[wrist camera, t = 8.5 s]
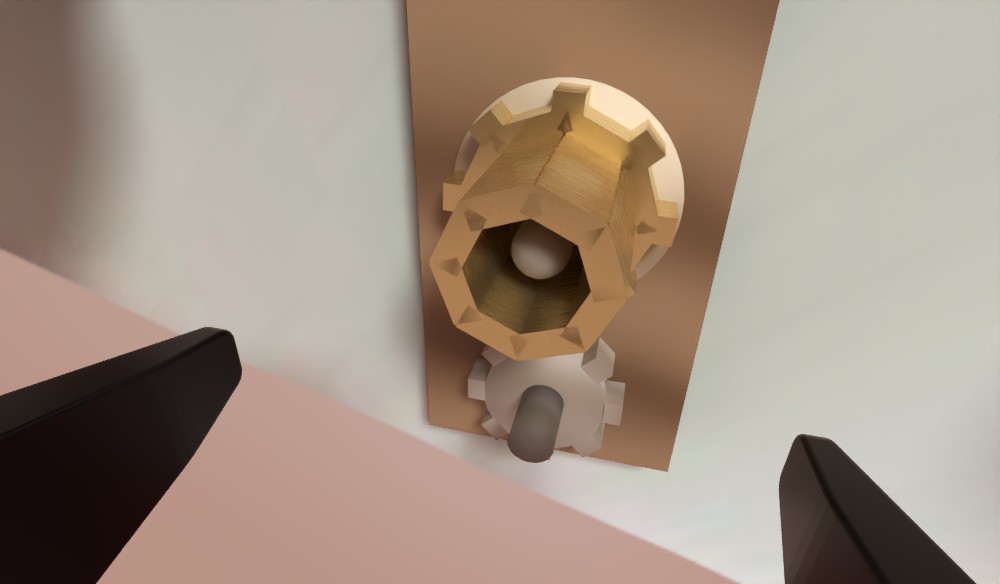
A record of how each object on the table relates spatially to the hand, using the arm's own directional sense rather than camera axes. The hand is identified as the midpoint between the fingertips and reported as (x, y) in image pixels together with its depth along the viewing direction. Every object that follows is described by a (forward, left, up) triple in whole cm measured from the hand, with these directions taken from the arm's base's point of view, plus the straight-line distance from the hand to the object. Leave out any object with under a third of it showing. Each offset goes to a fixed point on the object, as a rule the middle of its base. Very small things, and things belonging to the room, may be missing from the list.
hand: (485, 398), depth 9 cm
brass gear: (0, 0, -9) cm, 9 cm away
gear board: (0, 0, -10) cm, 10 cm away
